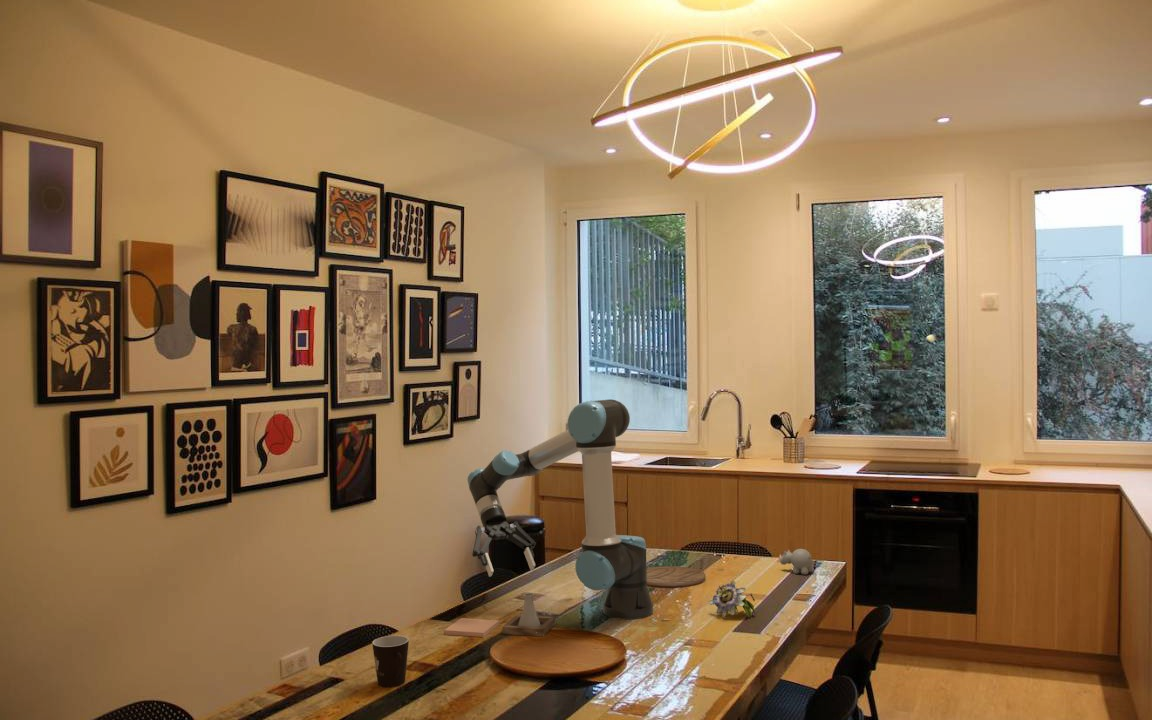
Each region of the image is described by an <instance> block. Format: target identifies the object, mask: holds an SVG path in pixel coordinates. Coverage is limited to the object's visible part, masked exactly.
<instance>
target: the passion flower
mask: <svg viewBox="0 0 1152 720" xmlns="http://www.w3.org/2000/svg"><path fill="white" fill-rule="evenodd" d="M745 591H746V587H745V586H744V587H739V588H737V586H736V581H735V580H734V579H733V580H731V581H730V583H727V584H722V585H721V586H720V585H718V588H717V589H716V590H715V593H716V594H714V595H713V597H712V599H711V600H709V601H708V602H707V604H708V605H714V606H715V607H716V614H717V615H718V614H721V617H722V618H721V619H724V618H726V617H727V616H728V613H729V614H730V615H731V616H734V615H735V614H736V612H739V610H738V608H737V607H742V608H743V610H744V612H745V614H746V616H747V617H748V618H749V619H752V615H753V614H754V615H755V614H756V612H755V611H756V610H755V606H754V605H753V603H752V602H750V601H749V600H747V596H750V597H751V598H752V601H753V602H755V601H756V598H755V597H754V595H753V593H749V594H746V595H745V594H743V593H744V592H745ZM752 611H753V612H752ZM752 613H753V614H752Z"/></svg>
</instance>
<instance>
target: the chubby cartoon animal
mask: <svg viewBox="0 0 1152 720" xmlns="http://www.w3.org/2000/svg"><path fill="white" fill-rule="evenodd" d="M812 560H813V558H812V555H811V552H809V551H808V550H807V549H804V548H797V549H795V550H794V551H793V552H791V551H790V549H788V550H787V551H786V550H784V552H783V555H782V554H781V553H780V554H779V563H780V564H781V565H782V566H783V565H784V566H785V565H789V564H790V565H791V564H792V566H793V568H792V573H793V574H797V575H799V574H801V575H804V576H806V575H809V573H813V571H814V570H813V566H812V563H813V562H812Z"/></svg>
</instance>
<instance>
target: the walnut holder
mask: <svg viewBox="0 0 1152 720" xmlns="http://www.w3.org/2000/svg"><path fill="white" fill-rule="evenodd" d="M537 616H538V619H539V622H540V625H541V626H540V627H525V626H518V623H519V620H520V617H521V614H515V615H514V616H513V617H512V618H511V619H510V620H508V621H507V622H506V623H505V624H504V625H502V626H501V628H502V629H501V632H502V633H501V634H503V635H515V636H517V635H518V636H530V637H544V636H545V635H546V634H547V633H548V632H549V631H550V630H551V629H553V627H554V626H556V624H557V623H556V618H557V617H555V616H543V615H537ZM536 632H537V633H536Z"/></svg>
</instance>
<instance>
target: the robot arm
mask: <svg viewBox="0 0 1152 720" xmlns="http://www.w3.org/2000/svg"><path fill="white" fill-rule="evenodd" d="M630 418H631V417H630V413H629V410H628V409H627V407H626V405H624V404H623V403H622V402H621V401H619V400H616V399H611V398H610V399H609V398H608V399H602V400H601V399H600V400H587V401H584V402H580V403H578V404H577V405H576V406H574V407H573V408H572V409H571V411H570V413H569V415H568V418H567V429H566V430H564V431H563V432H561V433H559V434H556V435H555V436H553V437H551V438H549V439H547V440H545V441H543V442H540V443H539V444H538V445H535V446H533V447H531V448H530V449H528V450H526V451H524V452H522V453H518V454H515V453H514V452H512V451H510V450H507V449H503V450H501V451H500V452H499V453H498V454H497V455H495V457H493V458H492V460H491V461H490V462H489V463H488V465H487V466H486V467H485V468H477V469H475V470H474V471H471V472H470V473H469V474H468V475H467V483H468V488H469V492H470V493H471V496H472V498H473V501H474V504H475V507H476V510H477V512H478V515H479V517H480V521H481V523H482V527H481V526H480V525H477V526H476V529H475V531H474V533H475V540H474V544H473V549H472V555H471V556H472V557H473V558H474V557H477V559H479V560H480V562H481V565H482V566H483V567H485V569H486V571H487V575H488V577H489V578H490V577H492V576H493V574H494V568H493V565H492V562H491V559H490V556H489V553H488V552H486V551H487V549H488V548H489V546H490V543H491V541H493V540H494V541H498V540H505V539H506V540H507V541H510V542H512V543H513V544H515V545H516V546H518V547H519V548H521V549H522V550H524V551H523V554H524V556H525V559H526V563H527V564H528V567H529V570H530V571H534V570H535V567H536V562H535V560H534V558H535V554H534V551H533V549H534V548H535V547H536V545H537V542H536V541H535V540H534V539H533V538H532V537H531V536H530V535H529V534H528V533H527V532H526V531H525V530H524V529H523V528H522V527H521V526H520V524H519V522H518V521H514V522H513V523H511V524H509V522H508V521H507V516H506V514H505V511H504V509H503V506H502V503H501V501H500V498H499V495H498V490H499V489H500V488H501V487H502V486H503V485H504V484H505V483H506V482H507V481H510V480H514V479H519V478H524V477H532V476H535V475H537V474H539V473H541V471H542V470H543V469H545V468H547V467H550V466H551V465H553V464H555V463H557V462H558V461H561V460H563V459H565V458H567V457H569V456H571V455H573V454H576V453H577V452H580V453H581V462H582V463H581V465H582V483H583V497H584V499H583V500H584V502H583V503H584V517H585V519H584V520H585V531H586V532H585V533H586V535H585V537H584V538H583V539H582V541H581V553H580V554H579V556H578V557H576V561H575V565H574V566H575V573H576V575H577V578H578V580H579V581H580V582H581V583H582V584H583V586H585V587H586V588H587V589H589V590H591V591H602V590H607V591H606V594H605V597H604V601H603V604H602V610H603V611H602V613H603V614H604V616H607V617H610V618H615V619H619V620H620V619H625V620H627V619H629V620H635V619H643V618H646V617H649V616H651V615H653V613H654V605H653V600H652V598H651V594H650V592H649V589H648V586H647V571H646V568H647V544H646V540H645V538H644V537H641V536H637V535H636V536H635V535H626V534H625V535H623V534H617V533H616V517H615V516H616V515H615V513H616V512H615V497H614V479H613V461H612V452H613V450H614V449H615V448H616V446H617V443H616V442H617V441H616V440H617V439H616V438H619V437H620V436H622V435H623V434H624V433H625V432H626V431H627V429H628V428H629V425H630V421H631V419H630ZM483 534H485V535H487V538H486V540H485V542H484V544H483V545H482V548H481V549H480V544H481V538H482V535H483ZM479 549H480V550H479Z"/></svg>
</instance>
